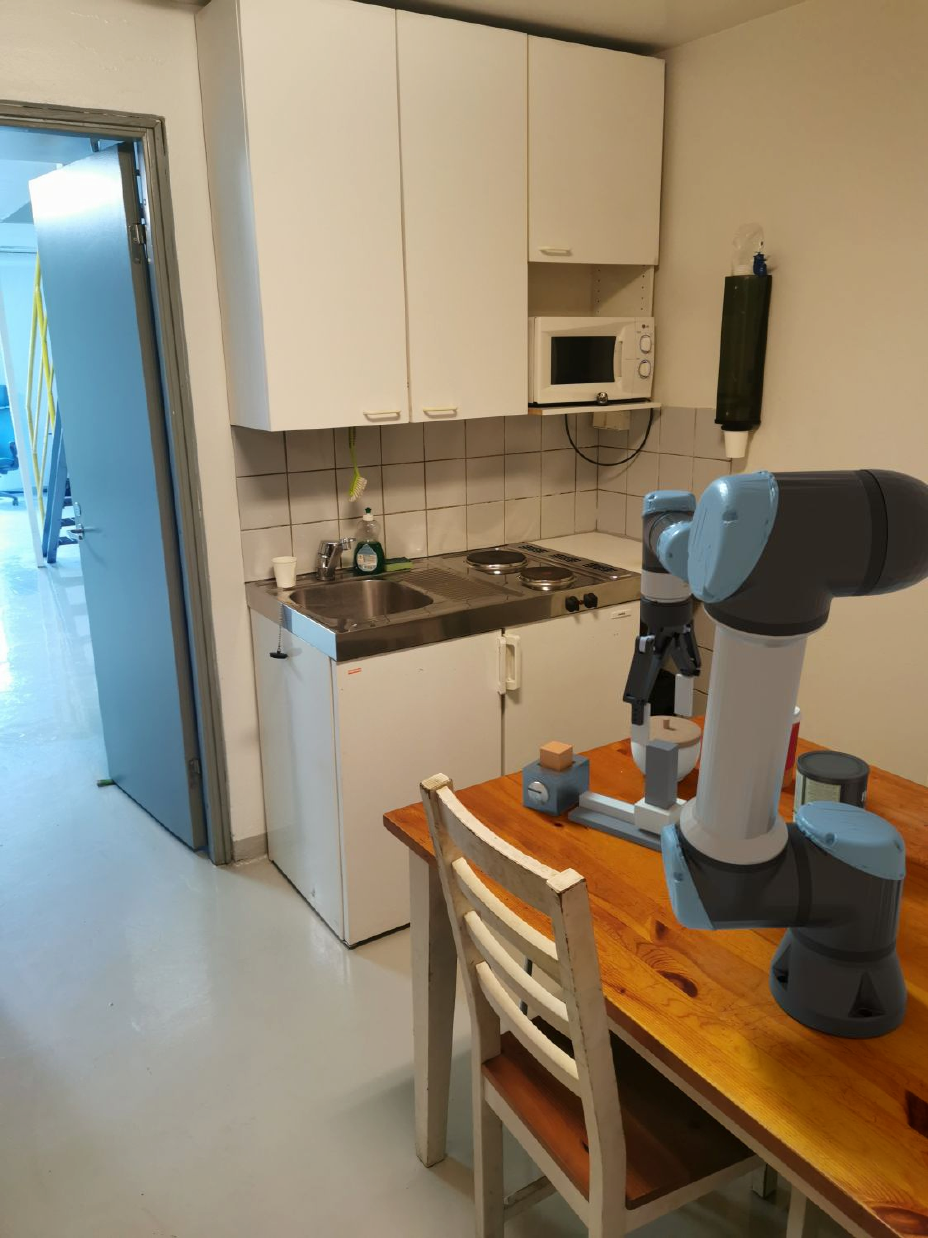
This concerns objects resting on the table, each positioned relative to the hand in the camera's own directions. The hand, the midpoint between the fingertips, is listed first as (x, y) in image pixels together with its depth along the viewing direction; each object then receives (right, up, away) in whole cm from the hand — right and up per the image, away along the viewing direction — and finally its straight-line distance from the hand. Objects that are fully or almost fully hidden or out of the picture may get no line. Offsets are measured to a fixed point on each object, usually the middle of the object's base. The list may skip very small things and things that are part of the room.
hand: (662, 728), depth 142 cm
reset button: (-15, -9, +16) cm, 23 cm away
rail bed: (-3, -17, +8) cm, 19 cm away
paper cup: (+25, -12, +21) cm, 35 cm away
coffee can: (+25, -19, 0) cm, 31 cm away
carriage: (+1, -16, +4) cm, 17 cm away
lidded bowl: (+6, -12, +26) cm, 29 cm away
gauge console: (-15, -15, +17) cm, 27 cm away
